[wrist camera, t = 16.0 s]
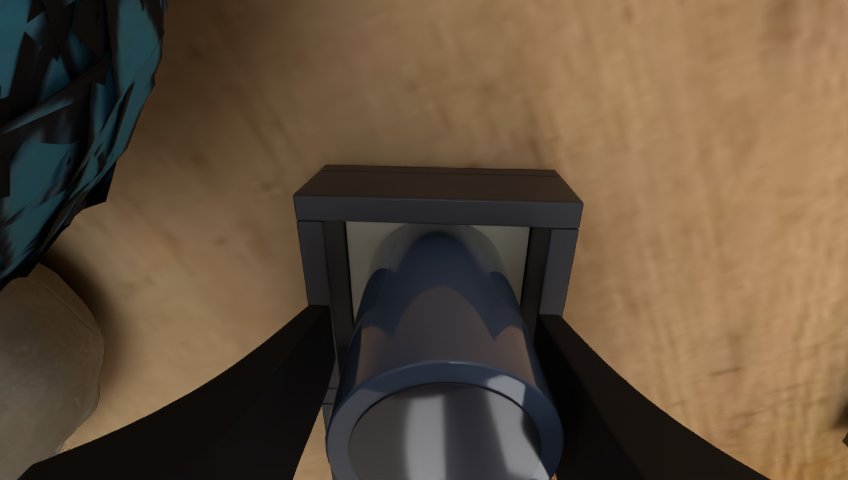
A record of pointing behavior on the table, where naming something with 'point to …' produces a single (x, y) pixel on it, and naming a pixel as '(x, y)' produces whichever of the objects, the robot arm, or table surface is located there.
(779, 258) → the table surface
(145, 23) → the decorative sphere
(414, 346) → the tumbler
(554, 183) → the rack
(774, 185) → the table surface
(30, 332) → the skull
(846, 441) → the shelf
